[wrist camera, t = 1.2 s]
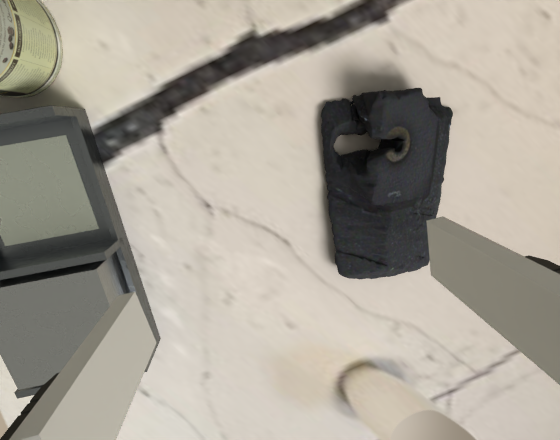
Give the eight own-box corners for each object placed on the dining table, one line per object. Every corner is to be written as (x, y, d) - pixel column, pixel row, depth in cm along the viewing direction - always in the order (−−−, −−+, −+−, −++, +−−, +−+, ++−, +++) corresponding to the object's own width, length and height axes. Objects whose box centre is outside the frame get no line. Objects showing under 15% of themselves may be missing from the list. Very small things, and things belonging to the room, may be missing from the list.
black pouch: (316, 275, 41) (324, 294, 36) (319, 91, 35) (330, 85, 30) (430, 269, 42) (452, 286, 38) (453, 90, 36) (482, 85, 31)
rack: (-64, 134, 32) (-136, 135, 26) (84, 109, 32) (48, 105, 27) (43, 362, 40) (7, 403, 34) (160, 338, 41) (145, 375, 35)
